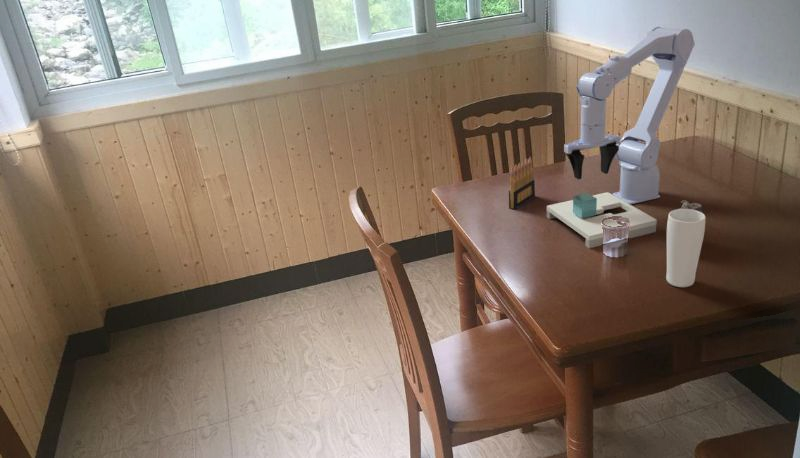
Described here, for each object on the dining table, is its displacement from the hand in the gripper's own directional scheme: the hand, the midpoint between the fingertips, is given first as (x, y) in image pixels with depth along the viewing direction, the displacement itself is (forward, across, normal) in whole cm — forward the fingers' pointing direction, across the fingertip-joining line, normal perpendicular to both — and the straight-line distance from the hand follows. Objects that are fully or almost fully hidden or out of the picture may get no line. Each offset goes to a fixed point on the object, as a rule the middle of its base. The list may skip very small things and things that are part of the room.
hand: (591, 175), depth 156 cm
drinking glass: (+11, +3, +38) cm, 40 cm away
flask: (+11, -8, +25) cm, 28 cm away
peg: (+10, +6, +7) cm, 14 cm away
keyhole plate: (+10, +2, +7) cm, 13 cm away
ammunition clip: (+11, +12, -15) cm, 22 cm away
